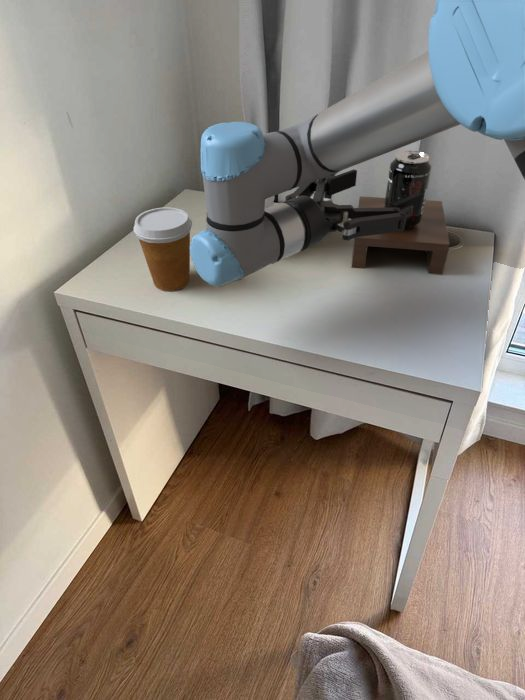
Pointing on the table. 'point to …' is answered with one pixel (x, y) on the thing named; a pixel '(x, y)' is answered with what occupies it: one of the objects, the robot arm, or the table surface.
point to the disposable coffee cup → (166, 246)
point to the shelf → (409, 236)
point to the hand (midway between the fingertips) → (385, 188)
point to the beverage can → (408, 181)
